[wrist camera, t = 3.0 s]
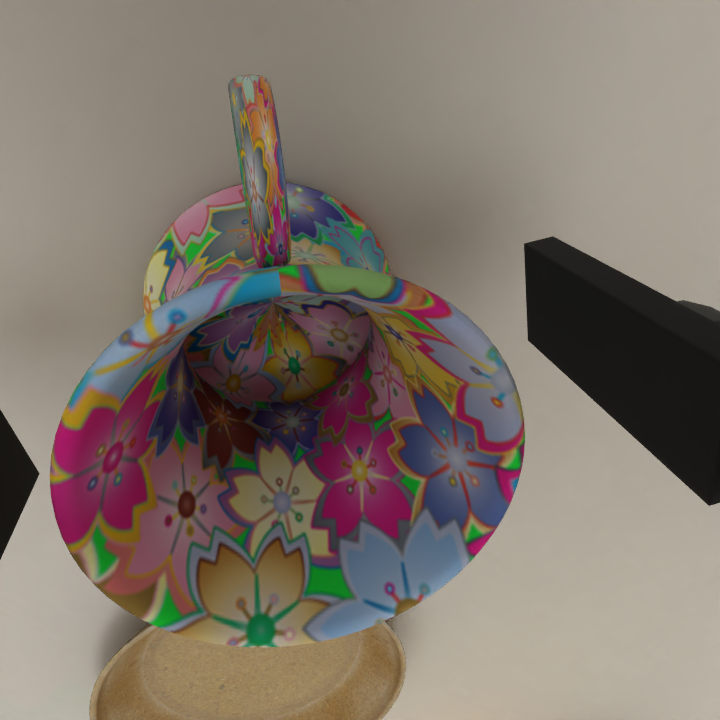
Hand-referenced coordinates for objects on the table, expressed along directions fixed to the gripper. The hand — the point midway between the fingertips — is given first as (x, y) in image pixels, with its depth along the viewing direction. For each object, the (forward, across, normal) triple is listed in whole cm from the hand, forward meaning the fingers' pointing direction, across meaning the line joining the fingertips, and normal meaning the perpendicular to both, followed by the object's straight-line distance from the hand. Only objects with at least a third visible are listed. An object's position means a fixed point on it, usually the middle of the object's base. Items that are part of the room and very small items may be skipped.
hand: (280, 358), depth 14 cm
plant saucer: (+7, -6, -20) cm, 22 cm away
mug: (+7, 0, 0) cm, 7 cm away
